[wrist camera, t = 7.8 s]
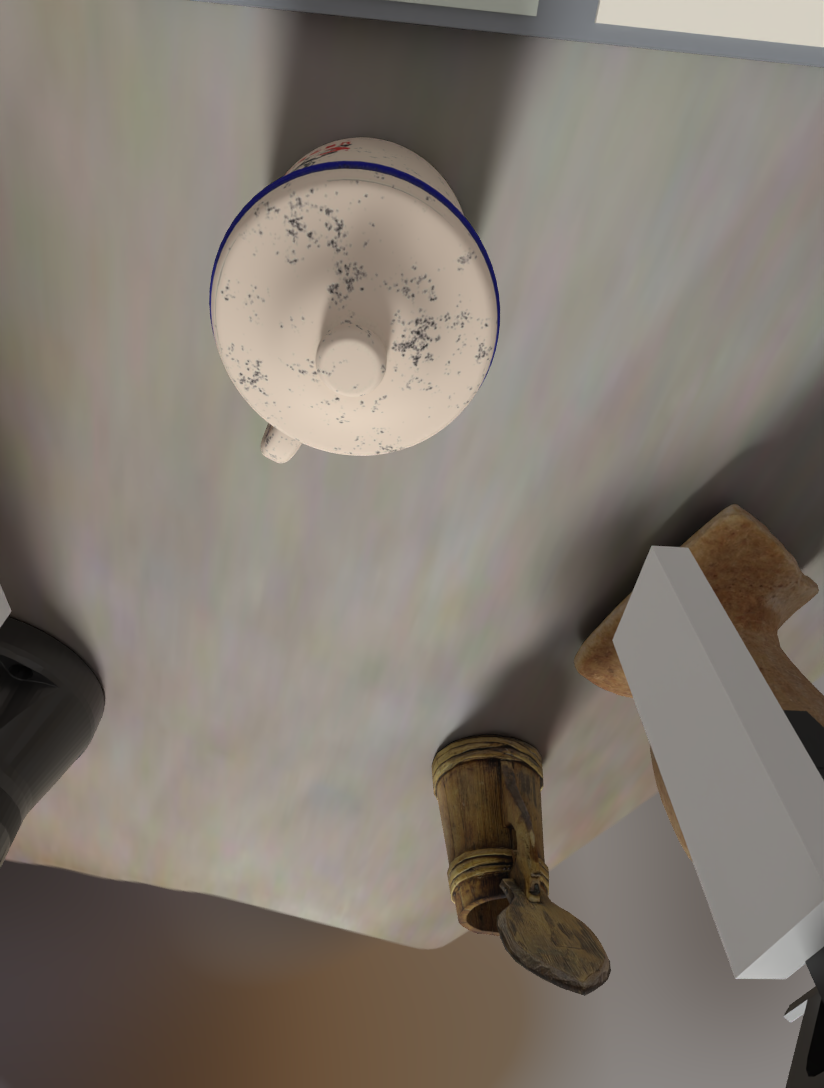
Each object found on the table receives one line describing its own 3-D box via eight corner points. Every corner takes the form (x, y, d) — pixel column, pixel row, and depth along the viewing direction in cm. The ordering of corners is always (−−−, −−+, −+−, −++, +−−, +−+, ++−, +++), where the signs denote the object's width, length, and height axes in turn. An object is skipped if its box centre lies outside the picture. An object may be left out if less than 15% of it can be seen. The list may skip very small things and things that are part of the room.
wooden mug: (585, 706, 46) (668, 1000, 32) (516, 802, 54) (558, 1070, 40) (469, 687, 44) (502, 987, 30) (416, 788, 52) (423, 1063, 38)
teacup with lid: (320, 70, 23) (267, 89, 14) (519, 219, 26) (584, 316, 17) (199, 347, 29) (107, 487, 20) (371, 440, 32) (360, 598, 23)
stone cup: (675, 702, 46) (771, 929, 34) (544, 649, 42) (602, 884, 30) (858, 563, 38) (1065, 797, 26) (716, 481, 34) (885, 712, 22)
